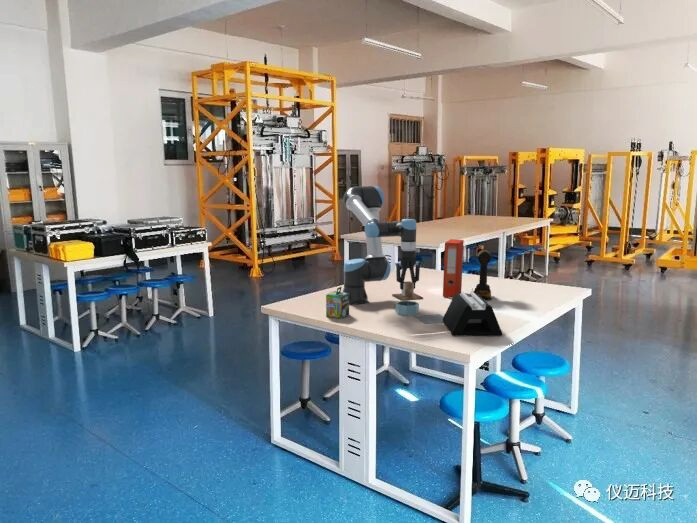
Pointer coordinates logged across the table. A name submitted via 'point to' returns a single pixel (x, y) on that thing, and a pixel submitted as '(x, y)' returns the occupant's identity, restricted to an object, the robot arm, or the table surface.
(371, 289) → the table surface
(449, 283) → the file binder
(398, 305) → the bowl
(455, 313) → the device stand
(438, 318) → the mat
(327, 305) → the chalk box
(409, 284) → the lid
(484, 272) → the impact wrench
